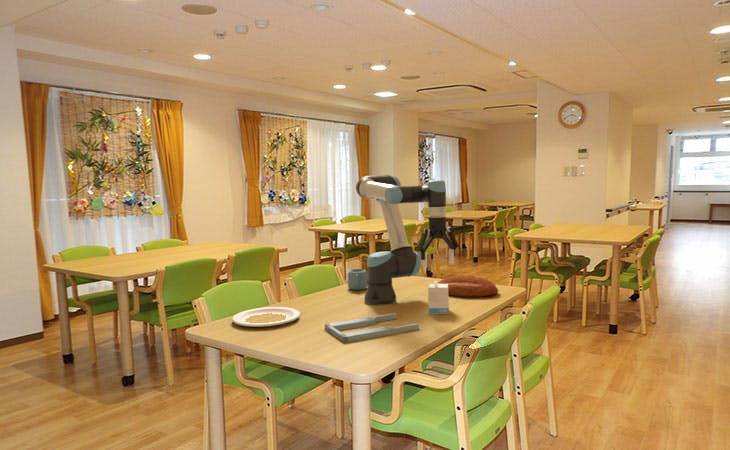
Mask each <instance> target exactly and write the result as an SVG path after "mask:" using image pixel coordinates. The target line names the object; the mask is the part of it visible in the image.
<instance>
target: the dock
mask: <svg viewBox="0 0 730 450" xmlns="http://www.w3.org/2000/svg"><path fill="white" fill-rule="evenodd" d="M397 317H398V316H397V313H395V312H394V313H388V314H381V315H375V316H367V317H362V318H356V319H349V320H342V321H337V322H332V323H331V322H330V323H324V330H325V331H327V332H328V333H330V334H331V335H332V336H334V337H335V338H336V339H338V340H340V341H341V342H342V343H344V344H346V343H350V342H354V341H355V342H356V341H362V340H366V339H374V338H377V337H378V338H379V337H383V336H384V337H385V336H389V335H395V334H399V333H400V334H401V333H406V332H412V331H417V330H420V325H419V323H411V324H410V323H409V324H403V325H400V326H399V325H398V326H382V327H375V328H374V327H373V328H370V329H363V330H362V329H361V330H357V331H352V332H346V333H343V332H341V330H342V331H343V330H348V329H354V328H361V327H365V326H373V325H375V324H376V323H377V322H383V321H384V322H385V321H391V320H396V319H397Z"/></svg>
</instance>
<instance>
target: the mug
mask: <svg viewBox="0 0 730 450" xmlns="http://www.w3.org/2000/svg"><path fill="white" fill-rule="evenodd" d="M347 287H348V288H349V289H350V290H352V291H360V290H367V287H368V273H367V270H366V269H361V268H355V269H350V270H348V273H347Z"/></svg>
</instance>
